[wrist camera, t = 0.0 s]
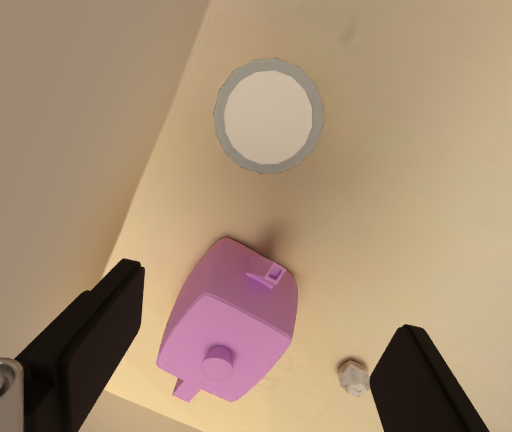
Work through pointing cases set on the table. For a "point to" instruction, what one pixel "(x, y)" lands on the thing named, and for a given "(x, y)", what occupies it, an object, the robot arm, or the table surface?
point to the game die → (354, 378)
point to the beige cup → (268, 115)
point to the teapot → (228, 323)
